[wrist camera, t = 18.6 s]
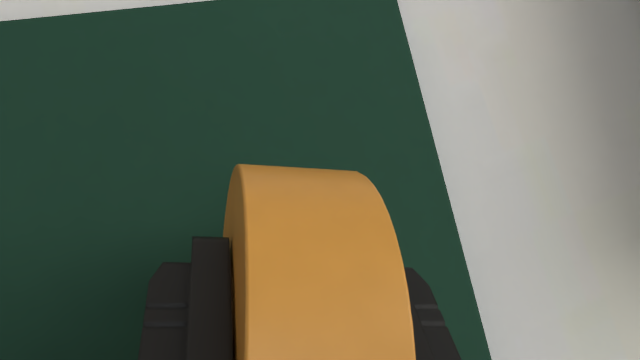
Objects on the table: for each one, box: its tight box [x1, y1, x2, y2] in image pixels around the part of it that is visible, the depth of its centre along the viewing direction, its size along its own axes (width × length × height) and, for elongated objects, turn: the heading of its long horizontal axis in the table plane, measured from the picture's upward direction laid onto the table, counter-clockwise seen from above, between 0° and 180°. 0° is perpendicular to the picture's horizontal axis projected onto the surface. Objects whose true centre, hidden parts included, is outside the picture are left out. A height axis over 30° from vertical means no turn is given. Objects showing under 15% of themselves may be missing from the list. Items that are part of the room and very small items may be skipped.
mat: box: [0, 0, 491, 360], centre depth 15 cm, size 20×13×1 cm, turn 13°
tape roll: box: [223, 164, 416, 360], centre depth 11 cm, size 8×2×8 cm, turn 179°
